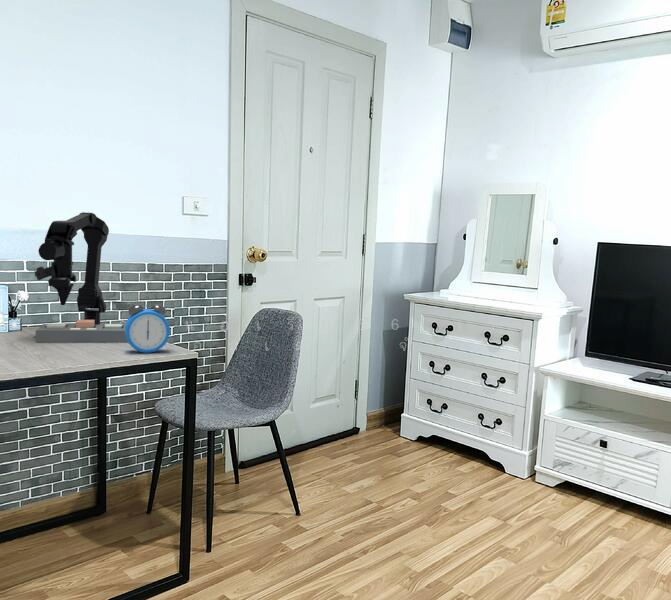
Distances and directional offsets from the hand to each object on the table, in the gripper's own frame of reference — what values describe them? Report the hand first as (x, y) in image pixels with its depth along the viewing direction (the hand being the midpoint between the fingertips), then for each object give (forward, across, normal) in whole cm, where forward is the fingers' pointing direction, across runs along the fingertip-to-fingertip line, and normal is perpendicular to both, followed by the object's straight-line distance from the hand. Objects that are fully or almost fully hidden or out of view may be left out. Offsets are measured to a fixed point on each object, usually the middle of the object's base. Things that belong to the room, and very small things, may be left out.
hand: (62, 305), depth 209 cm
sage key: (+10, +2, +16) cm, 19 cm away
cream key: (+10, +2, -2) cm, 10 cm away
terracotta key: (+9, +2, +7) cm, 11 cm away
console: (+11, +3, +7) cm, 14 cm away
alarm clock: (+11, +26, +28) cm, 40 cm away
